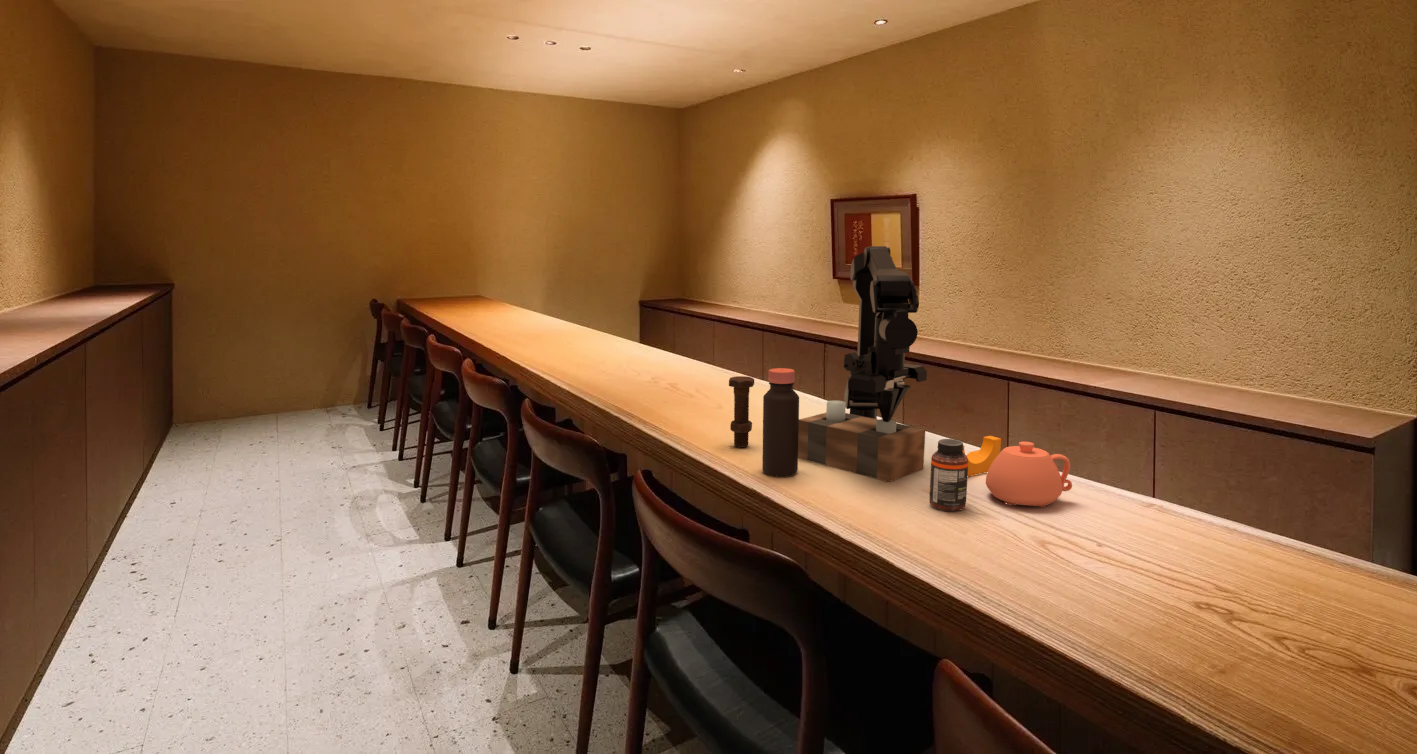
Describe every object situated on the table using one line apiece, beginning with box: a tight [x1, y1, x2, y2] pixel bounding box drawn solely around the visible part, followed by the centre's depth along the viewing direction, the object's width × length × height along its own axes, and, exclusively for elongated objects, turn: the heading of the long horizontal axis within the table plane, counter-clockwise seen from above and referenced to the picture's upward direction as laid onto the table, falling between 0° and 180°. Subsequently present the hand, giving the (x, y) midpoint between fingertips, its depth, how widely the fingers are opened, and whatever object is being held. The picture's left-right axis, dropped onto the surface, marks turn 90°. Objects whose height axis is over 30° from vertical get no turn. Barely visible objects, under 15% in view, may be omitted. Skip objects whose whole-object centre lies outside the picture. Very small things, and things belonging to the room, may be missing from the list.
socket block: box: [798, 412, 926, 483], centre depth 153 cm, size 12×22×8 cm, turn 44°
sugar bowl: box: [985, 441, 1073, 508], centre depth 132 cm, size 12×14×10 cm
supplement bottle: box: [928, 438, 968, 512], centre depth 129 cm, size 6×6×11 cm
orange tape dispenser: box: [962, 435, 1002, 477], centre depth 148 cm, size 12×4×6 cm, turn 119°
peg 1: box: [825, 399, 846, 423], centre depth 157 cm, size 4×4×7 cm
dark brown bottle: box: [761, 367, 800, 478], centre depth 146 cm, size 7×7×20 cm
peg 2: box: [876, 418, 897, 434], centre depth 149 cm, size 4×4×7 cm
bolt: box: [728, 375, 755, 448], centre depth 165 cm, size 6×5×15 cm
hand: (886, 421), depth 148 cm, fingers closed, pressing on peg 2
